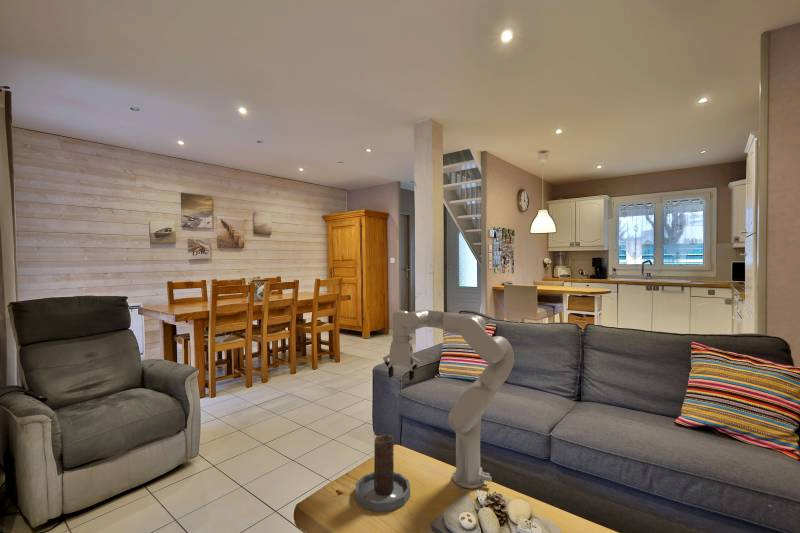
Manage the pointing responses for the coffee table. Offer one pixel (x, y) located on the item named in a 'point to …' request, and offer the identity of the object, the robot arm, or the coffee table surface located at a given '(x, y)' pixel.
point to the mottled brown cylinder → (383, 464)
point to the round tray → (382, 501)
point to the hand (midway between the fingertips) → (401, 378)
